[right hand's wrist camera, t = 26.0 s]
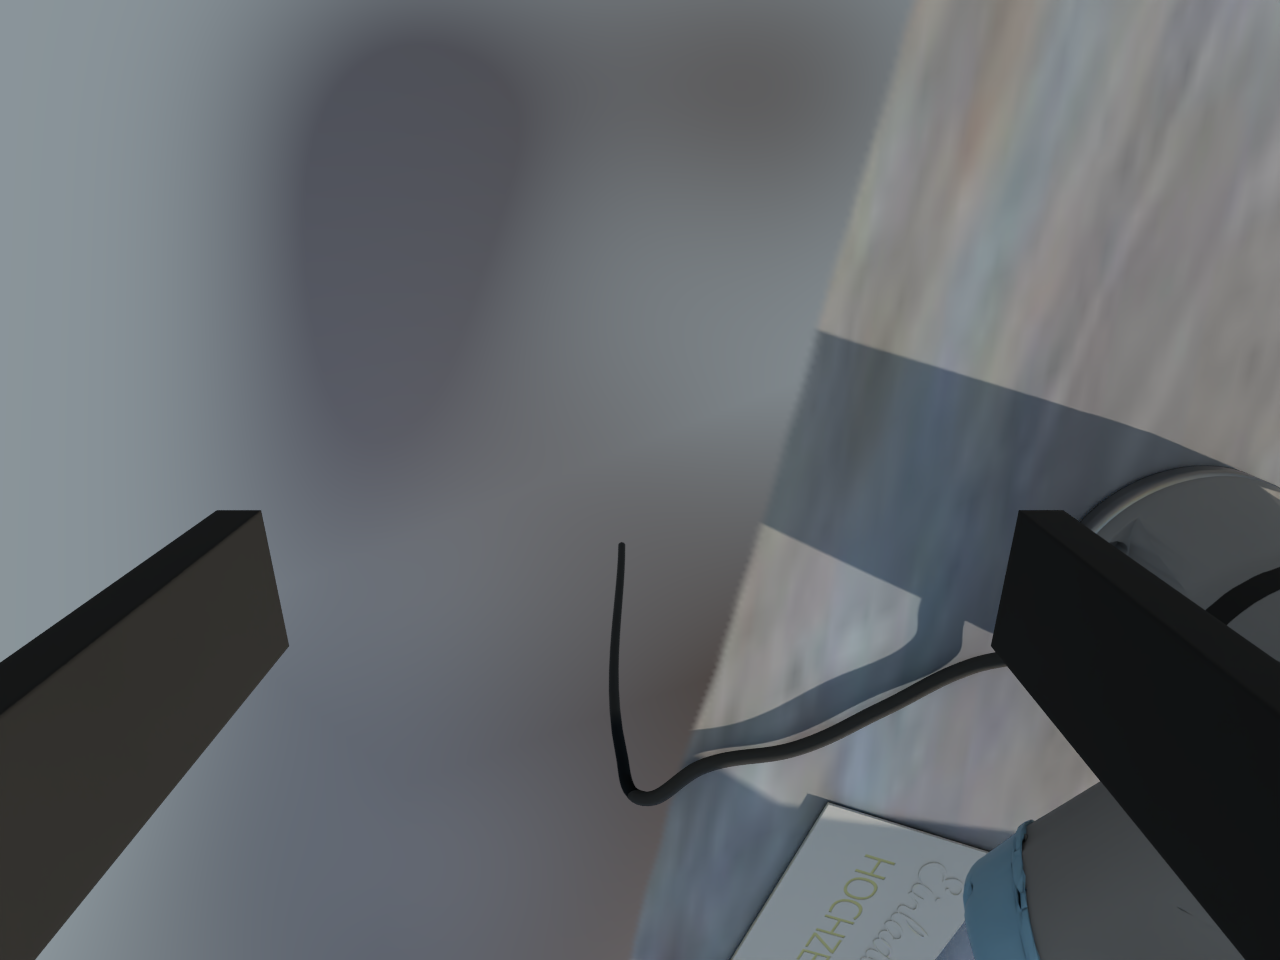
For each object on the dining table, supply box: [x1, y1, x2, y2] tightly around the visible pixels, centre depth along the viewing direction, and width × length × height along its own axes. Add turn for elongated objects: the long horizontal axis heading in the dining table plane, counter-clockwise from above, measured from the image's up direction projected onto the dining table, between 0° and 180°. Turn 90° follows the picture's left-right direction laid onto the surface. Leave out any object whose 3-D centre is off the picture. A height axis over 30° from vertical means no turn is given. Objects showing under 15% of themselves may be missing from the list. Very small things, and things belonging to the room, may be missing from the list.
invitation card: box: [731, 802, 989, 960], centre depth 55 cm, size 21×1×15 cm
